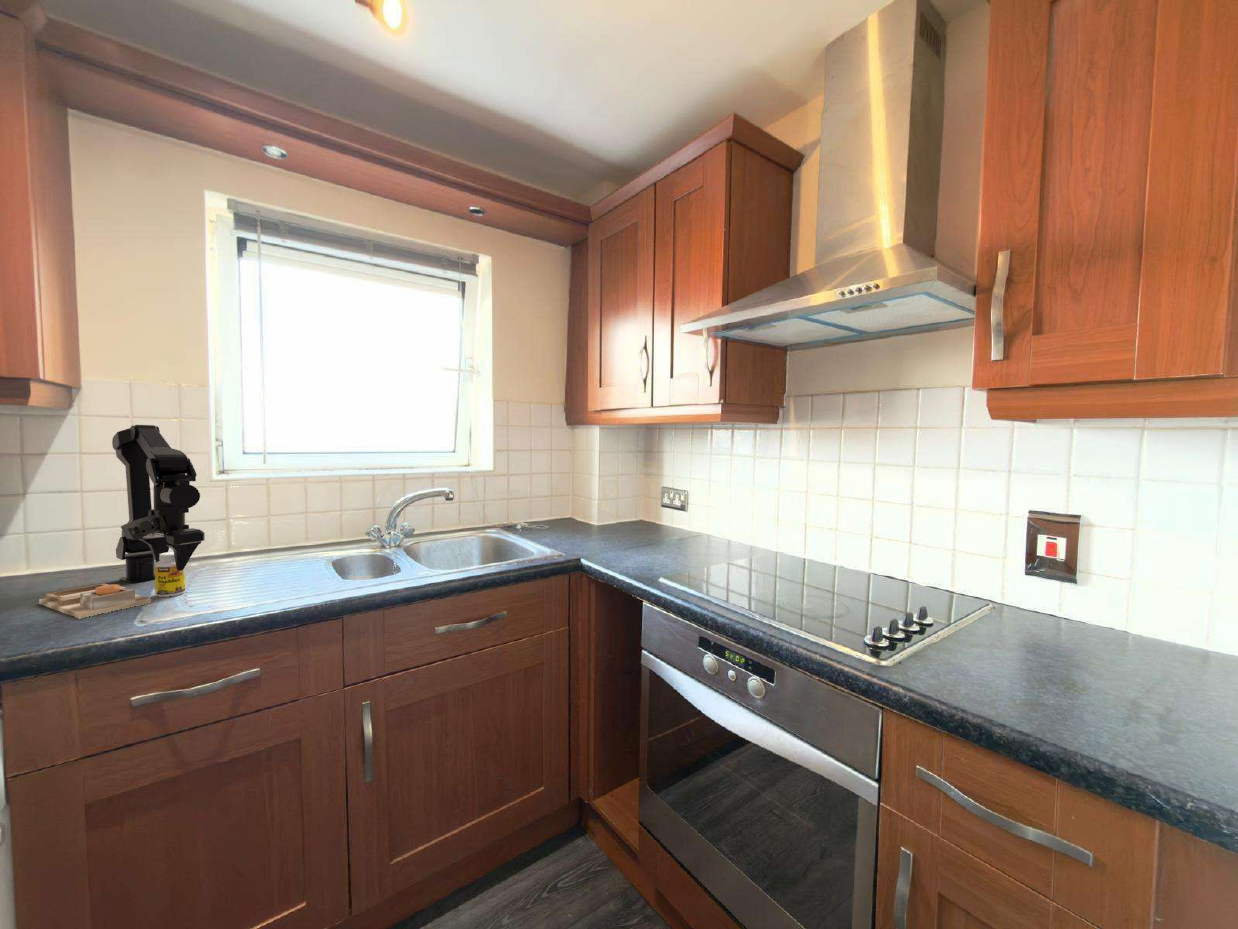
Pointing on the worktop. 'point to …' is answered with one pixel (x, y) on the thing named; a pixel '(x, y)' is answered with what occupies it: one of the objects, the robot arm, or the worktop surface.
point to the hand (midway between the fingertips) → (170, 568)
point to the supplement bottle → (168, 576)
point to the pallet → (91, 601)
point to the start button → (107, 589)
